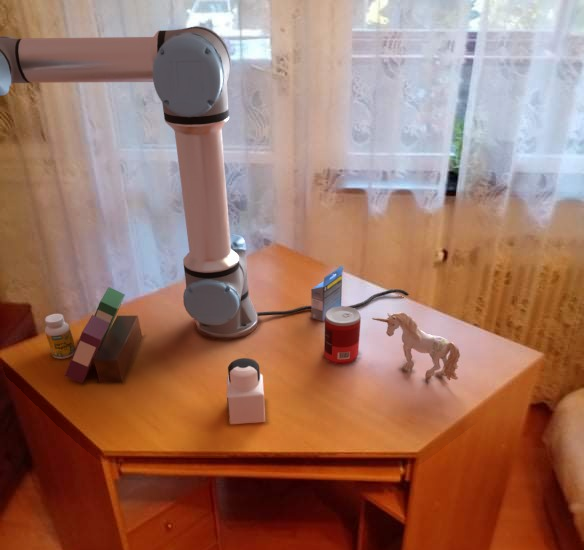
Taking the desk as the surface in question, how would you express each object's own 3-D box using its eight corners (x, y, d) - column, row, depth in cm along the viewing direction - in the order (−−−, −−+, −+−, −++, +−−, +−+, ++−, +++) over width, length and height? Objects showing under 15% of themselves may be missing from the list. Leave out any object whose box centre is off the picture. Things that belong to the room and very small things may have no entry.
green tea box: (107, 335, 145) (125, 294, 138) (99, 351, 140) (117, 309, 133) (91, 328, 144) (108, 286, 137) (82, 344, 138) (100, 301, 131)
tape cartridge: (329, 304, 157) (330, 260, 149) (341, 308, 155) (343, 264, 147) (310, 318, 151) (310, 273, 144) (323, 322, 149) (324, 277, 142)
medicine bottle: (229, 403, 123) (224, 355, 116) (263, 400, 124) (261, 353, 116) (229, 425, 118) (224, 376, 110) (265, 422, 118) (262, 373, 111)
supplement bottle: (72, 344, 142) (62, 309, 136) (79, 354, 138) (69, 319, 133) (49, 351, 140) (38, 316, 134) (56, 362, 136) (45, 326, 130)
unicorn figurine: (376, 353, 137) (380, 302, 129) (461, 370, 132) (471, 318, 124) (367, 370, 132) (371, 318, 124) (455, 389, 126) (466, 335, 118)
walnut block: (142, 337, 145) (137, 315, 141) (122, 382, 129) (117, 360, 126) (121, 336, 145) (117, 315, 141) (99, 382, 130) (93, 360, 126)
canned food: (364, 355, 137) (367, 313, 130) (343, 369, 132) (345, 327, 126) (339, 343, 141) (341, 302, 135) (317, 356, 137) (317, 315, 130)
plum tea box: (91, 365, 135) (110, 322, 128) (82, 383, 129) (100, 340, 122) (74, 358, 134) (92, 314, 127) (64, 376, 128) (82, 331, 121)
